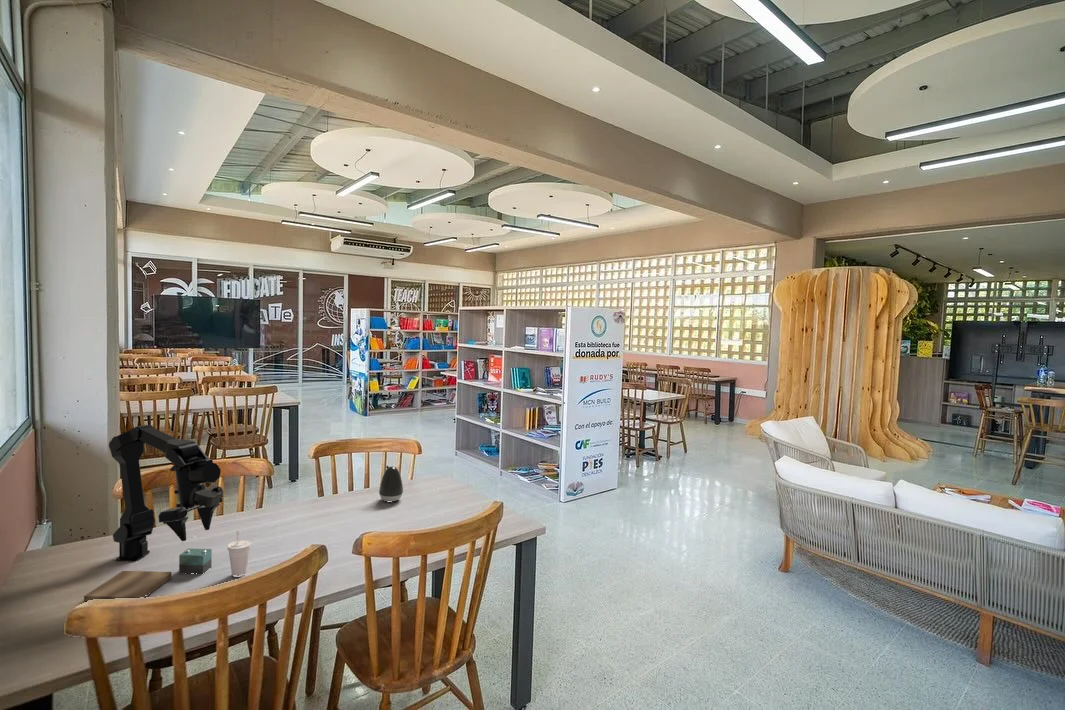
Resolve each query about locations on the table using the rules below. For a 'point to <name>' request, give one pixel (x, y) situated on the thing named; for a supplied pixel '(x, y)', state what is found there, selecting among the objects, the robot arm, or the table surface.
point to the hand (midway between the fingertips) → (196, 535)
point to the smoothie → (239, 555)
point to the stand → (129, 585)
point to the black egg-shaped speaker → (391, 485)
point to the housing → (195, 561)
